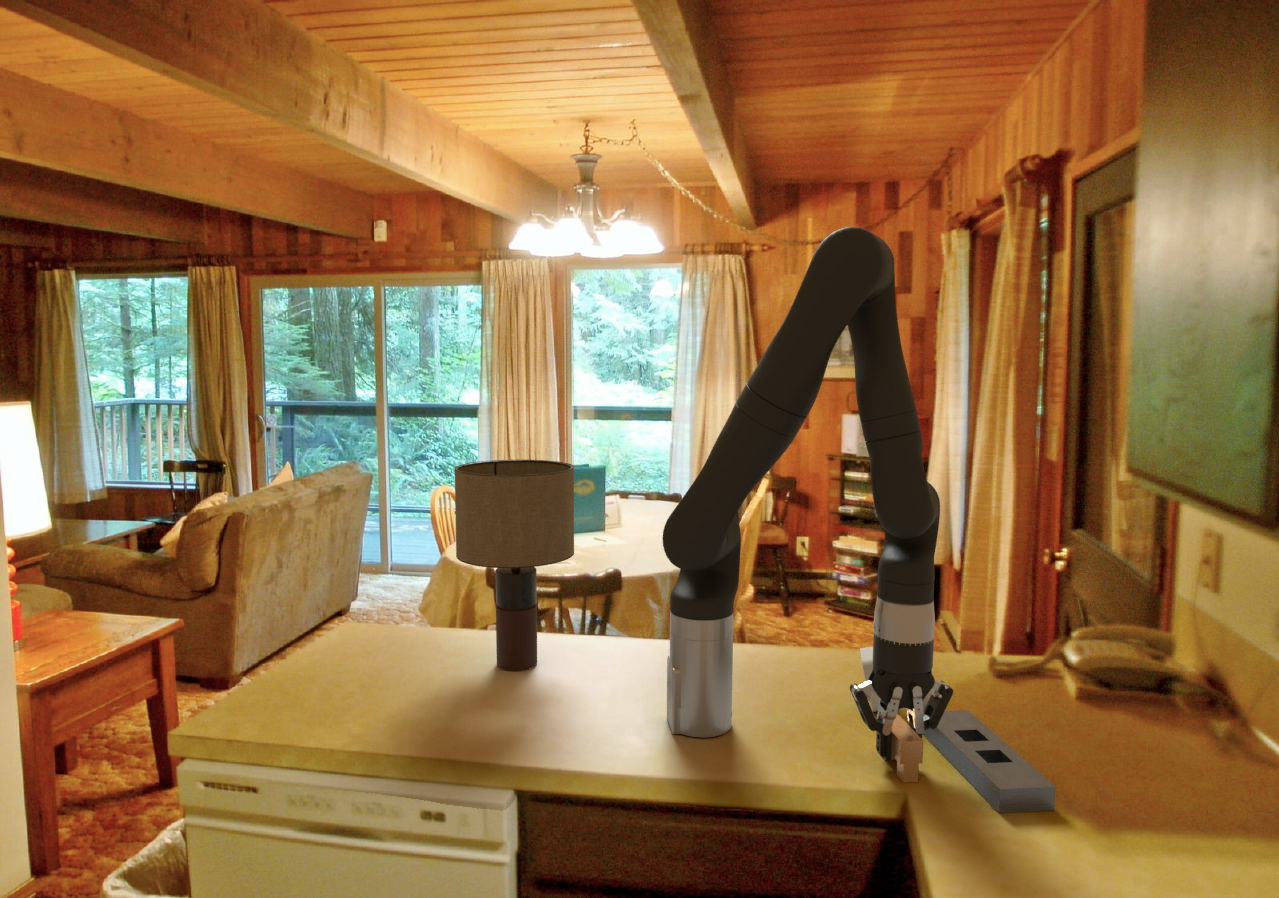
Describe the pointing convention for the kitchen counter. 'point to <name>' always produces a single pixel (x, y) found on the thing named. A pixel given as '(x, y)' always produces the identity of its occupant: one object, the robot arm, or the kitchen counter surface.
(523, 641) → the lamp
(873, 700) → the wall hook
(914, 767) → the wooden block
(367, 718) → the kitchen counter surface
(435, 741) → the kitchen counter surface
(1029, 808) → the rail
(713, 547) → the robot arm
